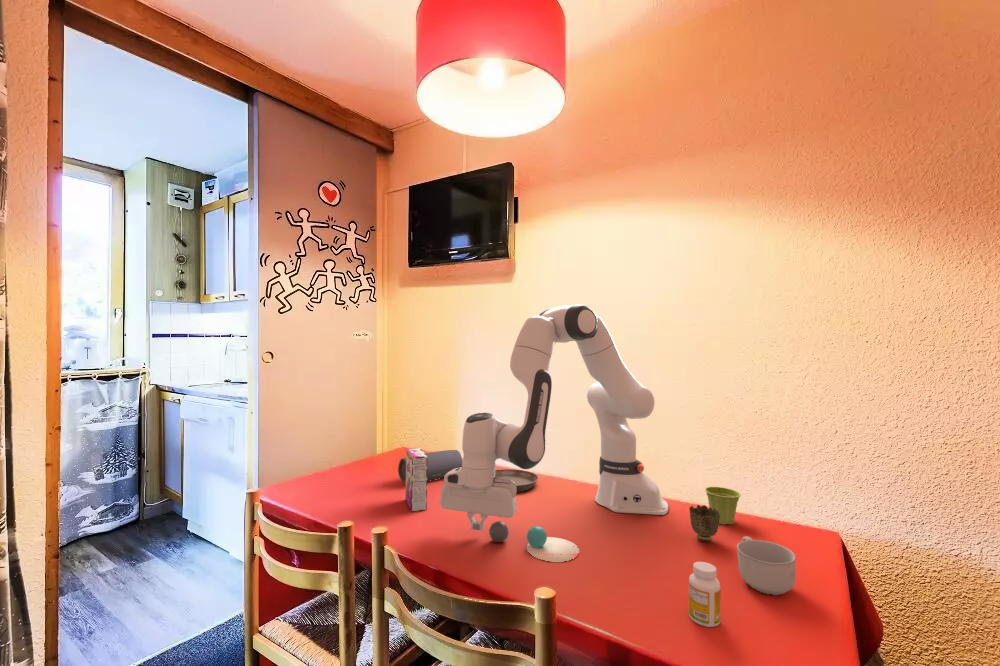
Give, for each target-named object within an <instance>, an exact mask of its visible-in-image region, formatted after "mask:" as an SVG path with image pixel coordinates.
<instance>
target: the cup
mask: <svg viewBox="0 0 1000 666" xmlns="http://www.w3.org/2000/svg"><path fill="white" fill-rule="evenodd" d="M688 507H689V508H688V509H689V518H690V525H691V528H692V530H693V531H694V532H695V534H696V538H697V540H699V541H700V542H702V543H710V542H712V541H713V538H712V537H713V536H715V535H716V534H717V533H718V529H719V526H720V525H719V519H720V512H718V510H717V511H716V509H713V511H712V508H711V507H710V508H709V507H708V506H706V505H705V504H704V505H699V504H697V505H696V507H694V505H691V506H688Z"/></svg>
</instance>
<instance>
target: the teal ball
mask: <svg viewBox="0 0 1000 666" xmlns="http://www.w3.org/2000/svg"><path fill="white" fill-rule="evenodd" d="M547 537H548V536H547V532H546V530H545V529H544V528H543V527H542V526H539V525H533V526H532V527H530V528H529V529H528V531H527V533H526V540H527V542H528V543H529V544H530V545H531V546H532V547H535V548H540V547H542V546H543V545H544V544H545V543H546V540H547ZM528 543H527V544H528Z"/></svg>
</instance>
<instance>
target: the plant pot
mask: <svg viewBox="0 0 1000 666" xmlns="http://www.w3.org/2000/svg"><path fill="white" fill-rule="evenodd" d="M704 491H705V493H706V496H707V501H708V509H709V508H710V507H711V508H712V511H713V509H716V511H717V510H718V512H720V519H719V524H720V525H724V526H725V525H733V524H735V519H736V511H737V506H738V503H739V499H740V497H741V493H740V492H739V491H737V490H735V489H732V488H727V487H722V486H706V487H705V488H704Z"/></svg>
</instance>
